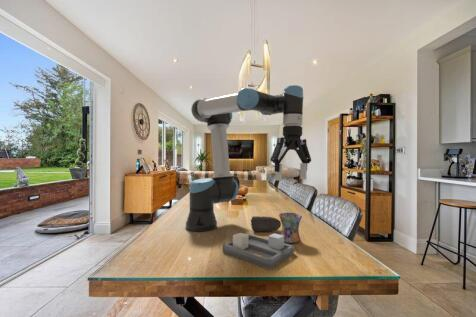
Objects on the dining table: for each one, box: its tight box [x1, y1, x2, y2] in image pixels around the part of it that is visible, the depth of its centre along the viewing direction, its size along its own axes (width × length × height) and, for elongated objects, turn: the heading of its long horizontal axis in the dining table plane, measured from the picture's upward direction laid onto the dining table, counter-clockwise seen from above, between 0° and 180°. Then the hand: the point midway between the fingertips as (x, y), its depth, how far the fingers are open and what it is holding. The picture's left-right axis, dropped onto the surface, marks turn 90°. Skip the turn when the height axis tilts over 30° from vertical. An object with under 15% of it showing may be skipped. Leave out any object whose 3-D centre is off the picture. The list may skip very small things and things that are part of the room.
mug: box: [278, 212, 303, 244], centre depth 98 cm, size 12×9×11 cm
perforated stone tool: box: [250, 215, 282, 233], centre depth 109 cm, size 15×5×7 cm, turn 99°
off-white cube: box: [232, 232, 248, 249], centre depth 84 cm, size 4×4×4 cm
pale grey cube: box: [267, 233, 285, 250], centre depth 84 cm, size 4×4×4 cm
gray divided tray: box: [222, 233, 295, 270], centre depth 84 cm, size 20×16×3 cm
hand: (291, 179), depth 92 cm, fingers open, 13 cm apart
